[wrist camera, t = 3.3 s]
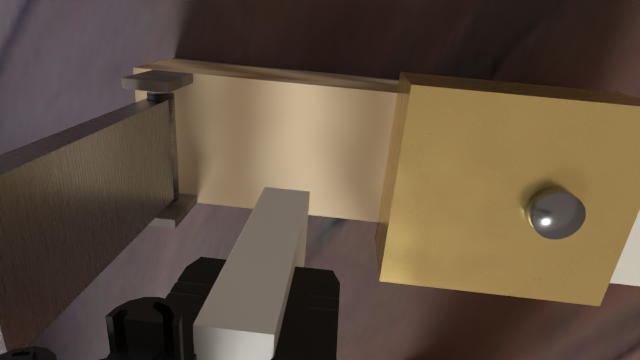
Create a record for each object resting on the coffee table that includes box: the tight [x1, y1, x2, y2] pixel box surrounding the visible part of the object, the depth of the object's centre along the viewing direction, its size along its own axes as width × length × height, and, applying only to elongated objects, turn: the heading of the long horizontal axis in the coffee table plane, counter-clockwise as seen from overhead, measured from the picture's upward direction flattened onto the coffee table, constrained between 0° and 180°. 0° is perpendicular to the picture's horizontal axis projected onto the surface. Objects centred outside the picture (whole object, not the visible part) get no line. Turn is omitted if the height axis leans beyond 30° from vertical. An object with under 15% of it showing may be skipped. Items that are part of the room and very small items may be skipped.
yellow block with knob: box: [375, 72, 640, 306], centre depth 19 cm, size 10×9×5 cm
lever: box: [0, 91, 179, 354], centre depth 15 cm, size 1×5×12 cm, turn 176°
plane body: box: [121, 58, 399, 228], centre depth 22 cm, size 24×7×8 cm, turn 85°
